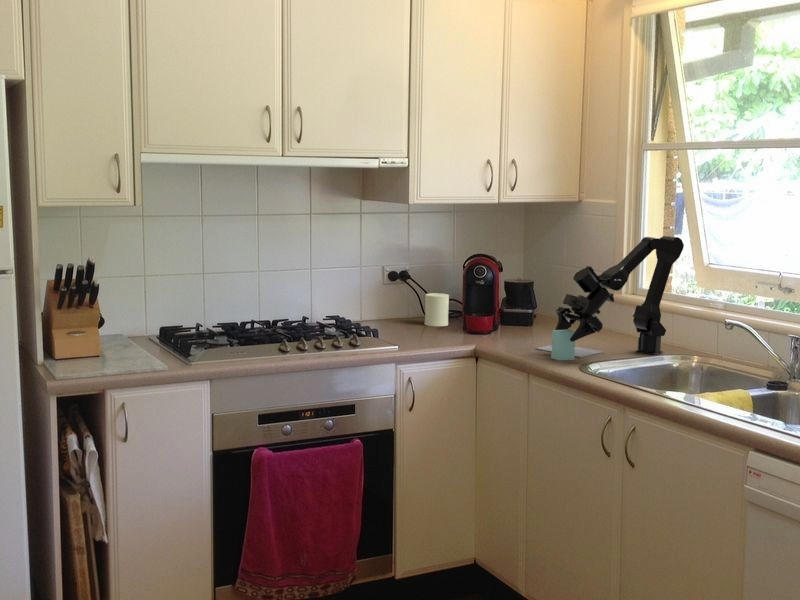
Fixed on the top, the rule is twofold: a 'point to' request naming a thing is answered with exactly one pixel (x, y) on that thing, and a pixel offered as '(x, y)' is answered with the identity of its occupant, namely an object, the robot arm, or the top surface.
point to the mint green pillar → (562, 345)
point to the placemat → (578, 351)
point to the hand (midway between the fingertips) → (562, 338)
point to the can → (436, 309)
